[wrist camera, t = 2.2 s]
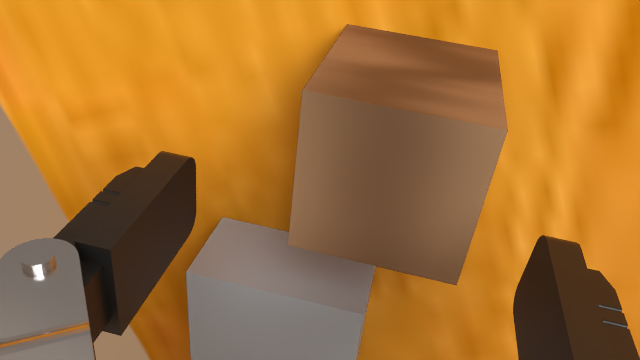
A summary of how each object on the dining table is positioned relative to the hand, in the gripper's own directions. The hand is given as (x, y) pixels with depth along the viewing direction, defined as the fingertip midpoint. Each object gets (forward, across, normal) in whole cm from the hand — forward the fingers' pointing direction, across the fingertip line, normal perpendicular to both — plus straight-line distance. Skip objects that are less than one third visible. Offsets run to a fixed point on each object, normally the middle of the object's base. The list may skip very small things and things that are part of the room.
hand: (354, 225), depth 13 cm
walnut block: (+8, -1, 0) cm, 8 cm away
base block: (+8, +2, +11) cm, 14 cm away
